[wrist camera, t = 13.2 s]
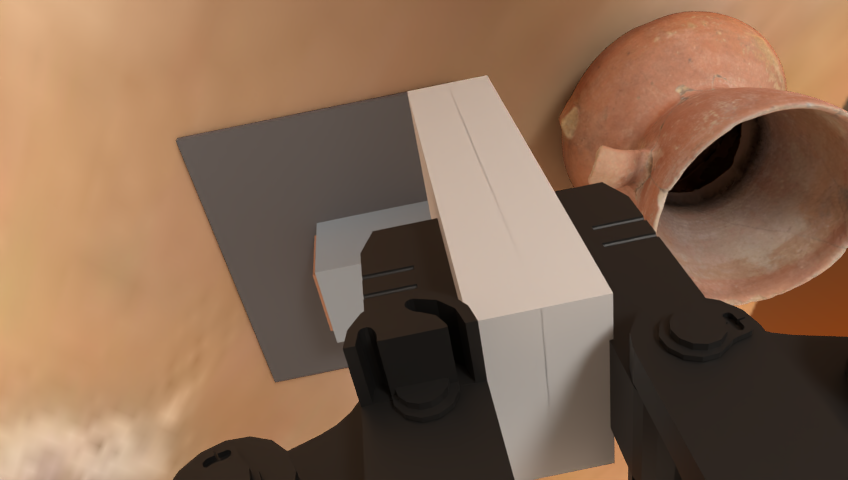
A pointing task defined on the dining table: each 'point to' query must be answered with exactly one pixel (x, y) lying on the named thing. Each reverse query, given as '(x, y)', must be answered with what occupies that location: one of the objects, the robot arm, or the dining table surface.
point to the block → (351, 260)
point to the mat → (299, 210)
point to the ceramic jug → (715, 153)
